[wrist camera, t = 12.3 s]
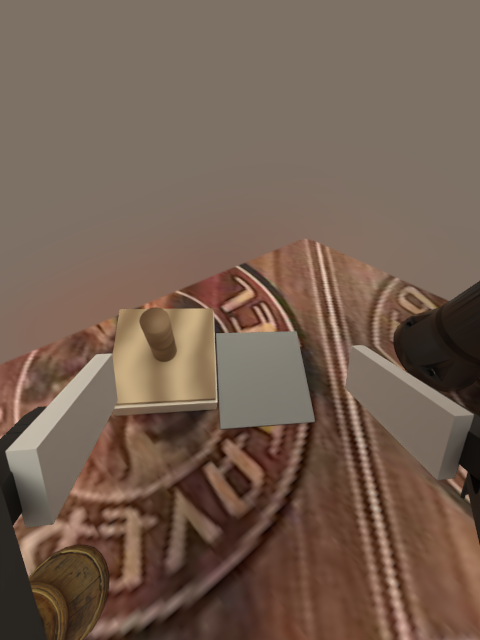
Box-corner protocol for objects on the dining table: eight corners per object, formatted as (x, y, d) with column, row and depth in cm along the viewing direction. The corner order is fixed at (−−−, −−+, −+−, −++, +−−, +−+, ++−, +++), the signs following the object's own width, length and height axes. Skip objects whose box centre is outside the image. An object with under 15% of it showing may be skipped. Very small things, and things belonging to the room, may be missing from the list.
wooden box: (212, 325, 49) (213, 311, 45) (216, 409, 42) (217, 402, 38) (127, 327, 47) (119, 312, 43) (115, 415, 40) (105, 409, 36)
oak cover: (212, 312, 45) (214, 271, 36) (215, 400, 38) (219, 377, 29) (122, 313, 43) (99, 270, 34) (107, 406, 36) (74, 384, 27)
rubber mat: (295, 332, 51) (296, 331, 50) (313, 422, 43) (315, 421, 42) (216, 334, 48) (216, 333, 48) (220, 429, 41) (220, 428, 40)
